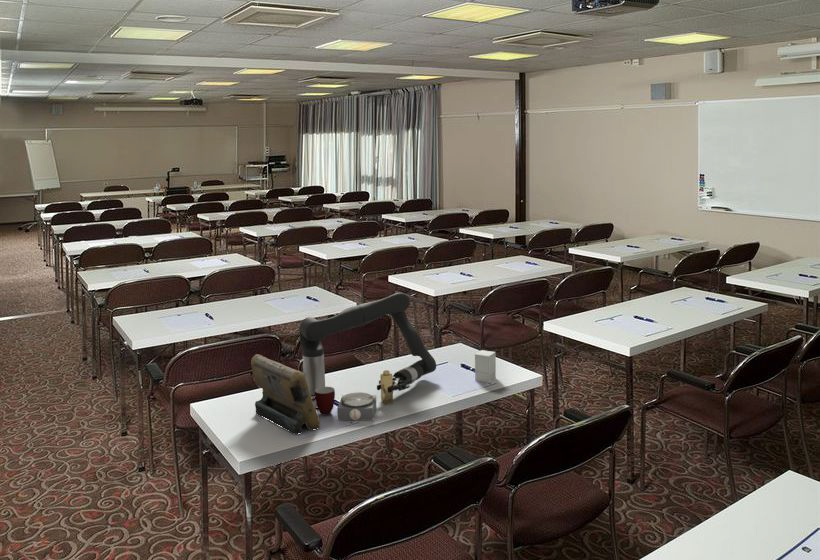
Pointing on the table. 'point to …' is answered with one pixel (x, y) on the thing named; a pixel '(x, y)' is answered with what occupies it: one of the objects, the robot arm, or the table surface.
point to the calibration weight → (386, 387)
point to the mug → (324, 399)
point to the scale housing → (357, 411)
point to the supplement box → (485, 366)
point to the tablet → (283, 395)
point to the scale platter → (357, 399)
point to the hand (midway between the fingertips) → (383, 389)
